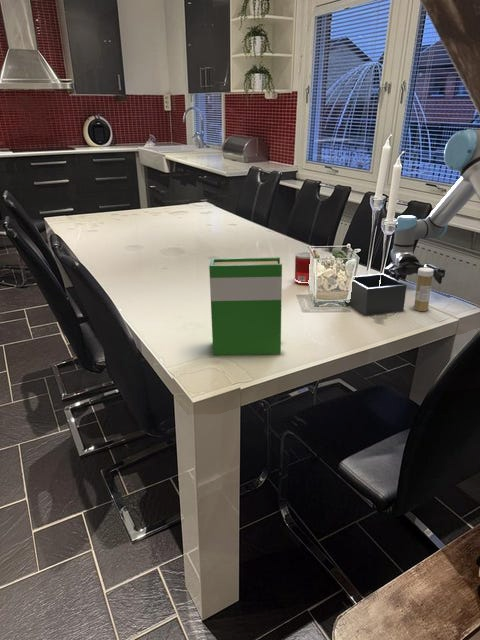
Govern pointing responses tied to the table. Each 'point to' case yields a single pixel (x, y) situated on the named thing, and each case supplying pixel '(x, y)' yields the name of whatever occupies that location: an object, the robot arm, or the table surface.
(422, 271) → the sprinkles bottle
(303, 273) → the canned food
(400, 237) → the robot arm
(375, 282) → the black open box
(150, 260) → the table surface
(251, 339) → the hardback book
